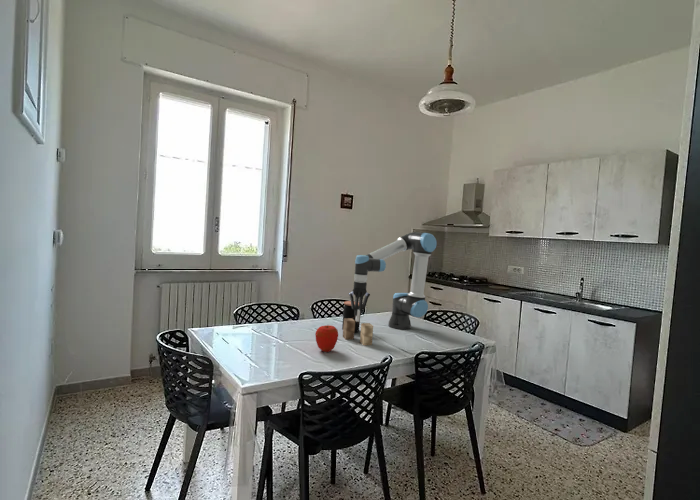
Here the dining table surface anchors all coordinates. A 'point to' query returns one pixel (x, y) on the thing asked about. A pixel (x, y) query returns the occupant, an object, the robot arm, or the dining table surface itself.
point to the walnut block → (348, 329)
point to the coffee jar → (350, 314)
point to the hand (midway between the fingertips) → (357, 321)
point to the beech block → (366, 334)
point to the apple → (326, 337)
